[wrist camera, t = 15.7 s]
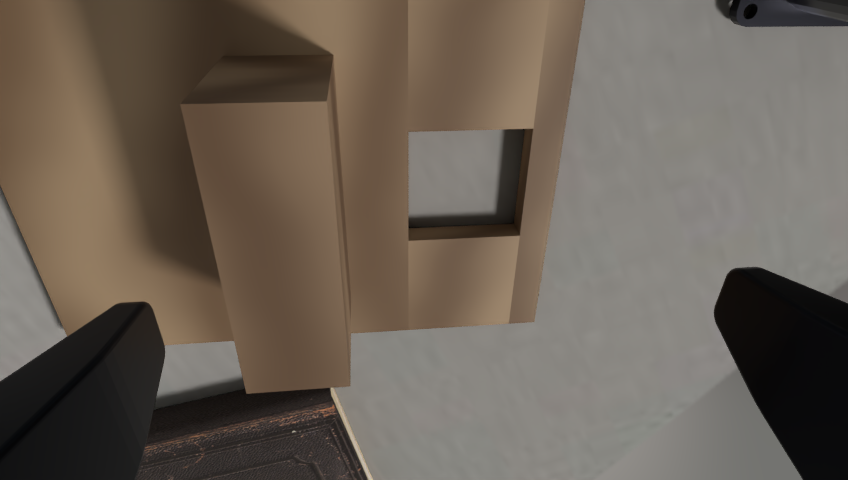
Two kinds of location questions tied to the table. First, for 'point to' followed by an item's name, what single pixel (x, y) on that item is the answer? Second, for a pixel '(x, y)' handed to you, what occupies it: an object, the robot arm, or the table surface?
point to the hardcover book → (254, 439)
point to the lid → (276, 165)
